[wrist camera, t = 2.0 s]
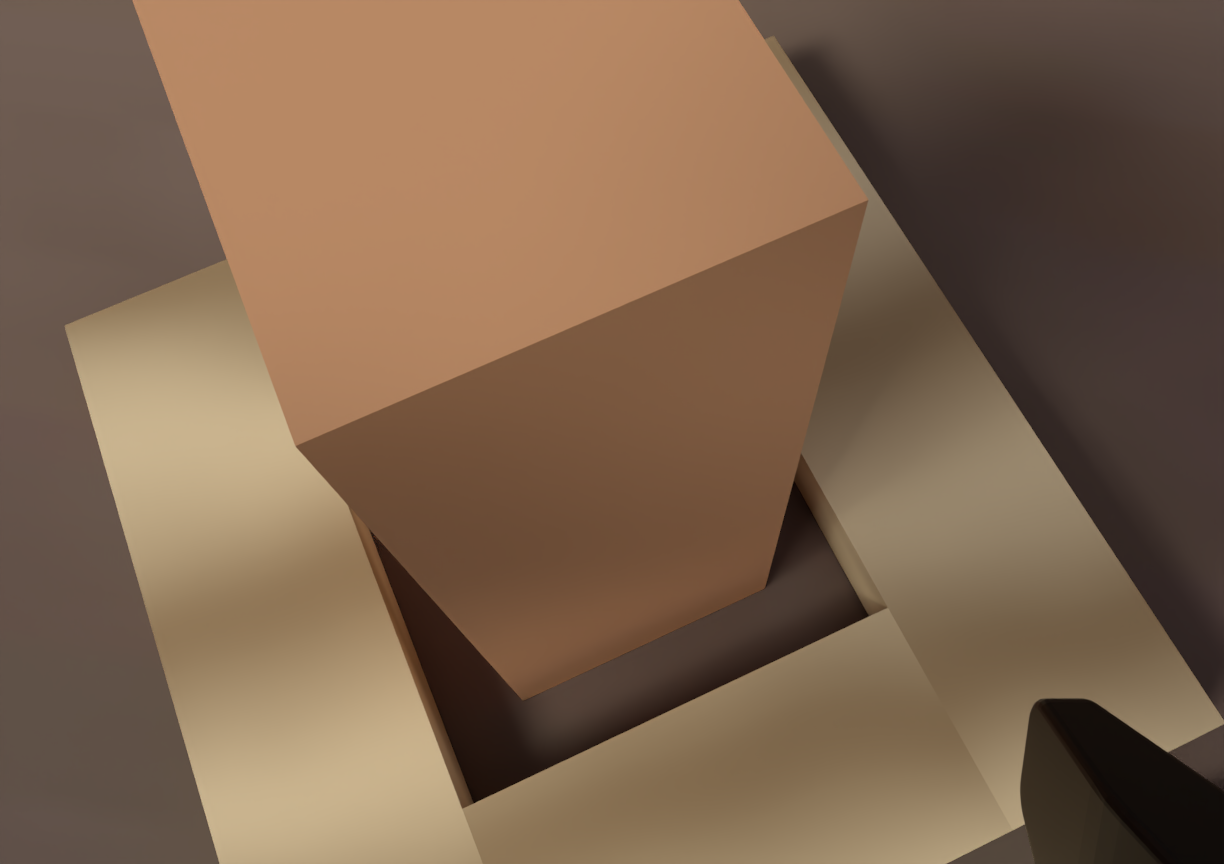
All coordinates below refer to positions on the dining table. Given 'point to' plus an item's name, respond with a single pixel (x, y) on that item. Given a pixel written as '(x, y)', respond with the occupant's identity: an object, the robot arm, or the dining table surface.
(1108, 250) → the dining table surface
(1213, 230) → the dining table surface
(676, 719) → the puzzle board
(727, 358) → the block
